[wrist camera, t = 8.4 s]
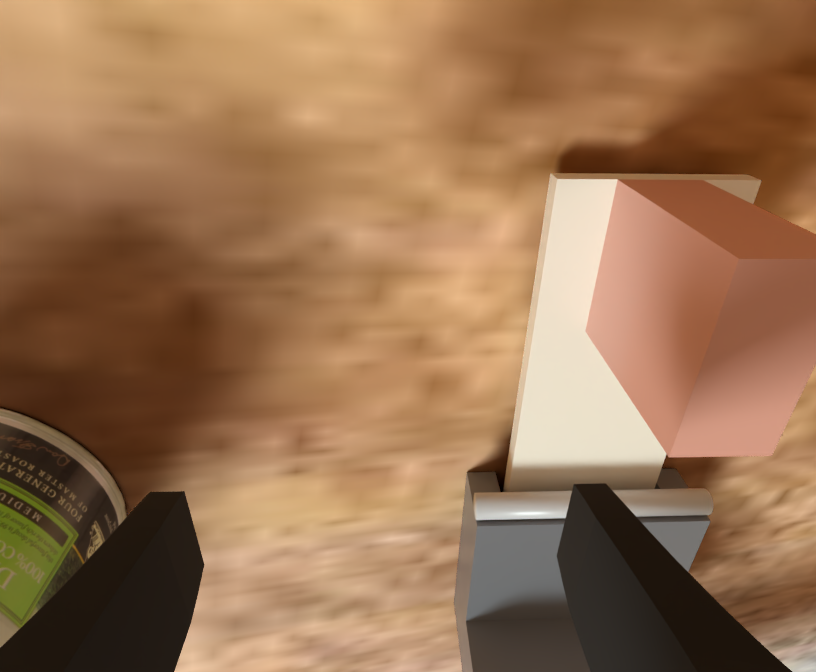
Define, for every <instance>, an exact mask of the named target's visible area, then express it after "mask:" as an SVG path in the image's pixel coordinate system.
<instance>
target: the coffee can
mask: <svg viewBox="0 0 816 672" xmlns="http://www.w3.org/2000/svg"><path fill="white" fill-rule="evenodd" d="M126 517H127V515H126V508H125V503H124V499H123V496H122V493H121V492H120V490H119V488H118V486H117V484H116V482H115V481H114V479H113V478H112V476H111V475H110V473H109V472H108V471H107V470H106V468H105V467H104V466H103V465H102V464H101V463H100V462H99V461H98V460H97V459H96V458H95V457H94V456H93V455H92V454H91V453H90V452H89V451H87V450H86V449H85V448H84V447H83V446H81V445H80V444H79V443H77V442H76V441H74V440H73V439H71V438H70V437H68V436H67V435H65V434H63V433H62V432H60V431H58V430H56V429H54V428H52V427H49V426H47V425H45V424H43V423H41V422H39V421H38V420H35V419H32V418H30V417H28V416H25V415H23V414H20V413H17V412H14V411H10V410H6V409H2V408H0V647H1V646H2V645H4V644H5V643H6V642H7V641H8V640H9V639H10V638H11V637H12V636H13V635H14V634H15V633H16V632H17V631H18V630H19V629H20V628H21V627H22V626H23V625H24V624H25V623H26V622H27V621H28V620H29V619H30V618H31V617H32V616H33V615H34V614H35V613H36V612H37V611H38V610H39V609H40V608H41V607H42V606H43V605H44V604H45V603H46V602H47V601H48V600H49V599H50V598H51V597H52V596H53V595H54V594H55V593H56V592H57V591H58V590H59V589H60V588H61V587H62V586H63V585H64V584H65V583H66V582H67V580H68V579H69V578H70V577H71V576H72V575H73V574H74V573H75V572H76V571H77V570H78V569H79V568H80V567H81V566H82V565H83V564H84V563H85V562H86V561H87V560H88V558H89V557H90V556H91V555H92V554H93V553H94V552H95V551H96V550H97V549H98V548H99V547H100V546H101V544H102V543H103V542H104V541H105V540H106V539H107V538H108V537H109V536H110V535H111V534H112V533H113V531H114V530H115V529H116V528H117V527H118V526H119V525H120V524H121V523H122V522H123V520H124V519H125V518H126Z"/></svg>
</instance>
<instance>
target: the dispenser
mask: <svg viewBox="0 0 816 672" xmlns="http://www.w3.org/2000/svg"><path fill="white" fill-rule="evenodd" d="M612 491H613V492H614V493H615V494H616V495H617V496H618V497H619V498H620V499H621V500H622V501H623V503H624V504H625V505H626V506H627V507H628V508H629V509H630V510H631V511H632V512H633V514H634V515H635V516H636V517H637V518H638V519H639V520H640V521H641V522H642V523H643V525H644V526H645V527H646V528H647V529H648V530H649V531H650V532H651V533H652V534H653V535H654V537H655V538H656V539H657V540H658V541H659V542H660V543H661V544H662V545H663V546H664V547H665V548H666V550H667V551H668V552H669V553H670V554H671V555H672V556H673V557H674V558H675V559H676V560H677V561H678V562H679V563H680V564H681V565H682V566H683V567H684V568H685V569H686V570H687V571H689V569H690V567H691V564H692V562H693V560H694V558H695V555H696V553H697V551H698V549H699V546H700V544H701V542H702V539H703V537H704V535H705V533H706V530H707V528H708V526H709V524H710V519H709V518H708V516H707V515H710V514H711V513H712V511H713V499H712V496H711V494H710V493H709V491H708V490H707V489H705V488H688V486H687V485H686V483H685V482H684V480H683V479H682V477H681V476H680V474H679V473H678V471H677V470H676V469H661V471H660V474H659V477H658V480H657V483H656V486H655V489H638V490H612ZM571 494H572V491H537V492H500V489H499V485H498V481H497V477H496V473H495V472H467V477H466V487H465V497H464V507H463V517H462V527H461V537H460V548H459V558H458V568H457V578H456V588H455V598H454V607H455V615H456V623H457V631H458V639H459V647H460V655H461V663H462V671H463V672H590V669H589V666H588V663H587V660H586V658H585V655H584V652H583V649H582V646H581V643H580V640H579V638H578V635H577V632H576V629H575V626H574V623H573V620H572V617H571V614H570V611H569V607H568V603H567V599H566V595H565V591H564V587H563V582H562V578H561V573H560V569H559V564H558V560H557V552H558V548H559V544H560V539H561V535H562V531H563V527H564V523H565V519H566V514H567V510H568V506H569V502H570V498H571Z"/></svg>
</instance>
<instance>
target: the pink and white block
mask: <svg viewBox="0 0 816 672" xmlns="http://www.w3.org/2000/svg"><path fill="white" fill-rule="evenodd" d="M761 181H762V180H760V179H757V178H755V177H752V176H750V175H745V174H610V173H550V180H549V186H548V193H547V200H546V207H545V213H544V220H543V227H542V233H541V240H540V247H539V253H538V260H537V267H536V274H535V280H534V287H533V294H532V300H531V307H530V314H529V320H528V327H527V334H526V341H525V347H524V354H523V361H522V367H521V374H520V381H519V388H518V394H517V401H516V408H515V414H514V421H513V428H512V434H511V441H510V448H509V455H508V461H507V468H506V475H505V481H504V488H503V492H537V491H572V489H573V485H574V484H596V483H606V484H607V485H608V486H609V487H610V488H611V489H612V490H638V489H655V486H656V483H657V480H658V477H659V474H660V471H661V468H662V466H663V463H664V460H665V457H666V454H667V455H668V457H727V456H772V454H773V452H774V450H775V448H776V446H777V444H778V442H779V440H780V437H781V435H782V433H783V431H784V429H785V427H786V425H787V423H788V421H789V419H790V417H791V415H792V412H793V410H794V408H795V406H796V404H797V402H798V400H799V398H800V396H801V394H802V392H803V390H804V388H805V385H806V383H807V381H808V379H809V377H810V375H811V373H812V371H813V369H814V367H815V365H816V234H814V233H812V232H810V231H807V230H805V229H803V228H801V227H799V226H797V225H795V224H793V223H791V222H789V221H787V220H785V219H783V218H781V217H778V216H776V215H774V214H772V213H770V212H768V211H766V210H764V209H762V208H760V207H758V206H756V205H754V201H755V198H756V195H757V193H758V190H759V187H760V184H761Z"/></svg>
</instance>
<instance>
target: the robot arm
mask: <svg viewBox="0 0 816 672" xmlns="http://www.w3.org/2000/svg"><path fill="white" fill-rule="evenodd" d="M557 560H558V564H559V569H560V573H561V578H562V582H563V587H564V591H565V595H566V599H567V603H568V607H569V611H570V614H571V617H572V620H573V623H574V626H575V629H576V632H577V635H578V638H579V640H580V643H581V646H582V649H583V652H584V655H585V658H586V660H587V663H588V666H589V669H590V672H792V671H791V670H790V669H788V668H787V667H786V666H785V665H784V664H783V663H782V662H781V661H779V660H778V659H777V658H776V657H775V656H774V655H773V654H772V653H771V652H769V651H768V650H767V649H766V648H765V647H764V646H763V645H762V644H761V643H760V642H759V641H757V640H756V639H755V638H754V637H753V636H752V635H751V634H750V633H749V632H748V631H747V630H746V629H745V628H744V627H743V626H742V625H741V624H740V623H739V622H737V621H736V620H735V619H734V618H733V617H732V616H731V615H730V614H729V613H728V612H727V611H726V610H725V609H724V608H723V607H722V606H721V605H720V604H719V603H718V602H717V601H716V600H715V599H714V598H713V597H712V596H711V595H710V594H709V593H708V592H707V591H706V590H705V589H704V588H703V587H702V586H701V585H700V584H699V583H698V582H697V581H696V580H695V579H694V578H693V577H692V576H691V575H690V574H689V573H688V571H687V570H686V569H685V568H684V567H683V566H682V565H681V564H680V563H679V562H678V561H677V560H676V559H675V558H674V557H673V556H672V555H671V554H670V553H669V552H668V551H667V550H666V548H665V547H664V546H663V545H662V544H661V543H660V542H659V541H658V540H657V539H656V538H655V537H654V535H653V534H652V533H651V532H650V531H649V530H648V529H647V528H646V527H645V526H644V525H643V523H642V522H641V521H640V520H639V519H638V518H637V517H636V516H635V515H634V514H633V512H632V511H631V510H630V509H629V508H628V507H627V506H626V505H625V504H624V503H623V501H622V500H621V499H620V498H619V497H618V496H617V495H616V494H615V493H614V492H613V491H612V489H611V488H610V487H609V486H608V485H607V484H606V483H596V484H574V485H573V489H572V494H571V498H570V502H569V506H568V510H567V514H566V519H565V523H564V527H563V531H562V535H561V539H560V544H559V548H558V552H557ZM203 568H204V562H203V558H202V555H201V551H200V547H199V544H198V540H197V536H196V532H195V529H194V525H193V521H192V518H191V514H190V510H189V507H188V503H187V499H186V496H185V492H184V491H181V492H150V493H149V494H148V495H147V496H146V497H145V498H144V499H143V500H142V501H141V502H140V503H139V504H138V505H137V506H136V507H135V508H134V510H133V511H132V512H131V513H130V514H129V515H128V516H127V517H126V518H125V519H124V520H123V522H122V523H121V524H120V525H119V526H118V527H117V528H116V529H115V530H114V531H113V533H112V534H111V535H110V536H109V537H108V538H107V539H106V540H105V541H104V542H103V543H102V544H101V546H100V547H99V548H98V549H97V550H96V551H95V552H94V553H93V554H92V555H91V556H90V557H89V558H88V560H87V561H86V562H85V563H84V564H83V565H82V566H81V567H80V568H79V569H78V570H77V571H76V572H75V573H74V574H73V575H72V576H71V577H70V578H69V579H68V580H67V582H66V583H65V584H64V585H63V586H62V587H61V588H60V589H59V590H58V591H57V592H56V593H55V594H54V595H53V596H52V597H51V598H50V599H49V600H48V601H47V602H46V603H45V604H44V605H43V606H42V607H41V608H40V609H39V610H38V611H37V612H36V613H35V614H34V615H33V616H32V617H31V618H30V619H29V620H28V621H27V622H26V623H25V624H24V625H23V626H22V627H21V628H20V629H19V630H18V631H17V632H16V633H15V634H14V635H13V636H12V637H11V638H10V639H9V640H8V641H7V642H6V643H5V644H4V645H2V646H1V647H0V672H174V670H175V667H176V665H177V662H178V659H179V656H180V653H181V650H182V647H183V644H184V641H185V639H186V636H187V633H188V630H189V627H190V624H191V620H192V616H193V612H194V608H195V604H196V599H197V595H198V591H199V586H200V582H201V577H202V572H203Z"/></svg>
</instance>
